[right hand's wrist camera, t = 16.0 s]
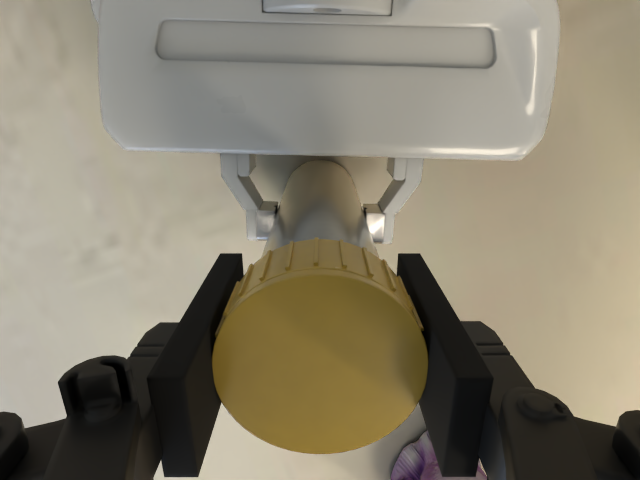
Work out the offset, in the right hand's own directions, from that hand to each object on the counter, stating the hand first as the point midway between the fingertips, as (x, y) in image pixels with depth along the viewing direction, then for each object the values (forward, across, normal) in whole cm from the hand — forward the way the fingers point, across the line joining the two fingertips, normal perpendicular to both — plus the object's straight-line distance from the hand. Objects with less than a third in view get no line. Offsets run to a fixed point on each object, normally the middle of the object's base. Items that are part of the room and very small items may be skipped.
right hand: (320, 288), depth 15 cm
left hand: (+8, 0, -1) cm, 8 cm away
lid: (-4, 0, 0) cm, 4 cm away
